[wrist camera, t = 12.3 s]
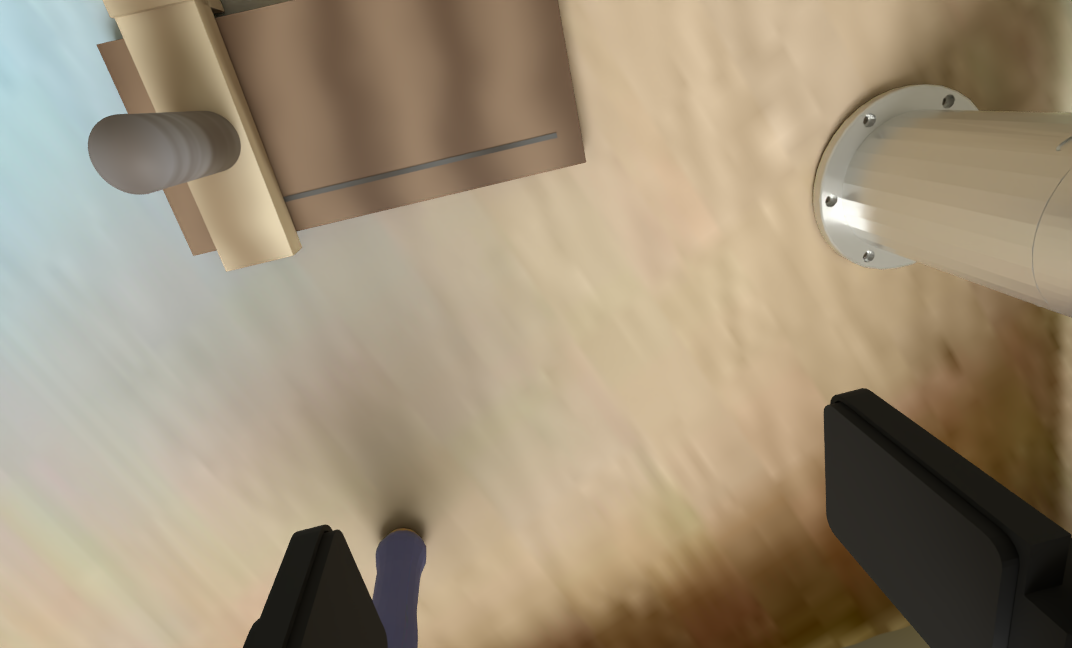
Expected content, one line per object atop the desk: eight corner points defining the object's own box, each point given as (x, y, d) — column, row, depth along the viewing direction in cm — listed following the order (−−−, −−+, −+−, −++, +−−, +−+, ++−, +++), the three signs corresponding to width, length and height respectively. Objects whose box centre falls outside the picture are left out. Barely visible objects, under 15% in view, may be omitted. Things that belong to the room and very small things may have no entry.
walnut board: (542, -49, 34) (547, -58, 32) (580, 159, 38) (586, 162, 36) (117, 47, 33) (95, 44, 31) (206, 248, 37) (192, 256, 36)
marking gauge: (212, -21, 32) (79, -84, 21) (310, 240, 38) (246, 298, 27) (141, -4, 32) (-31, -60, 21) (249, 254, 38) (160, 319, 27)
